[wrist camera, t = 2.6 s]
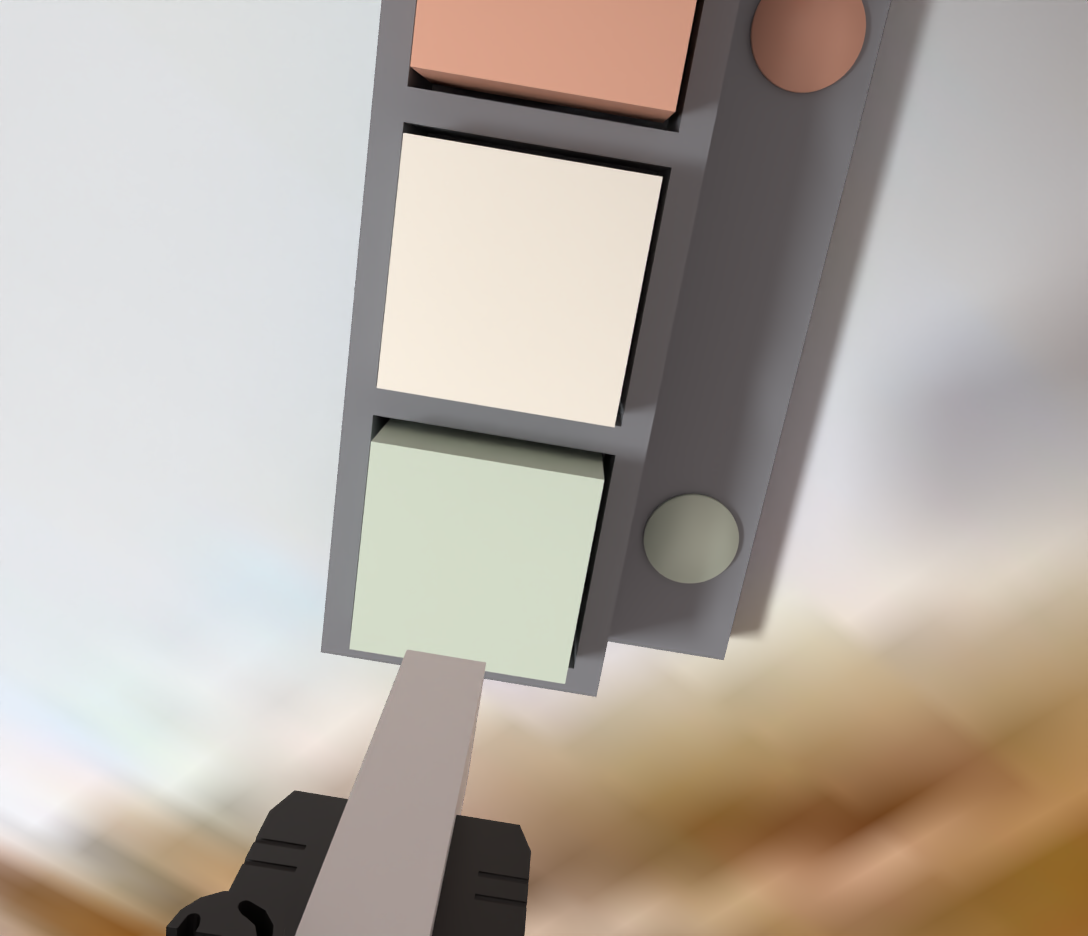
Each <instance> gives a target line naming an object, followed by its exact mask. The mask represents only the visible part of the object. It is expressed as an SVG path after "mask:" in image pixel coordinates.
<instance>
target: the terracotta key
mask: <svg viewBox="0 0 1088 936" xmlns="http://www.w3.org/2000/svg"><path fill="white" fill-rule="evenodd" d="M696 2H697V0H417V7H416V16H415V26H414V36H413V45H412V55H411V64H410V67H412V68H413V69H414V70H415V71H417V72H418V73H419V74H420V75H422V76H423V77H424V78H425V79H427V80H428V81H429V82H430V83H432V84H437V85H443V86H449V87H454V88H460V89H466V90H472V91H478V92H484V93H490V94H495V95H501V96H507V97H513V98H519V99H525V100H530V101H536V102H542V103H548V104H554V105H560V106H566V107H571V108H577V109H583V110H589V111H595V112H601V113H606V114H612V115H618V116H624V117H630V118H636V119H642V120H647V121H653V122H659V123H663V122H664V121H665V120H667V119H668V118H669V117H670V116H671V115H672V114H673V113H674V112H675V111H676V106H677V100H678V95H679V90H680V85H681V80H682V74H683V69H684V64H685V59H686V54H687V48H688V43H689V38H690V33H691V28H692V23H693V17H694V12H695V7H696Z"/></svg>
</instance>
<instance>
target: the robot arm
mask: <svg viewBox="0 0 1088 936" xmlns="http://www.w3.org/2000/svg"><path fill="white" fill-rule="evenodd" d="M485 667H486V662H480V661H474V660H468V659H462V658H456V657H450V656H444V655H438V654H432V653H426V652H420V651H414V650H406V653H405V655H404V658H403V661H402V663H401V666H400V668H399V671H398V673H397V676H396V678H395V681H394V684H393V686H392V689H391V691H390V694H389V696H388V699H387V701H386V704H385V707H384V709H383V712H382V714H381V717H380V719H379V722H378V724H377V727H376V730H375V732H374V735H373V737H372V740H371V742H370V745H369V747H368V750H367V753H366V755H365V758H364V760H363V763H362V765H361V768H360V770H359V773H358V776H357V778H356V781H355V783H354V786H353V788H352V791H351V793H350V796H349V799H343V798H337V797H331V796H325V795H319V794H313V793H307V792H301V791H293V792H292V793H291V794H290V795H289V796H287V797H286V798H285V799H284V800H282V801H281V802H280V803H279V804H278V805H276V806H275V807H274V808H273V809H272V810H270V811H269V813H268V815H267V817H266V819H265V821H264V823H263V825H262V827H261V829H260V831H259V833H258V835H257V837H256V841H255V842H254V843H253V845H252V847H251V849H250V851H249V852H248V854H247V856H246V858H245V863H244V864H242V866H241V868H240V870H239V872H238V874H237V876H236V878H235V880H234V882H233V884H232V886H231V888H230V890H229V891H222V892H219V893H215V894H212V895H208V896H205V897H201V898H199V899H198V900H196V901H194V902H193V903H191V904H189V905H188V906H186V907H185V908H183V909H181V910H180V911H179V913H178V914H177V915H176V916H175V917H174V918H173V920H172V921H171V922H170V923H169V924H168V925H167V927H166V936H524V933H525V920H526V905H527V895H528V880H529V869H530V856H531V850H530V848H529V846H528V843H527V841H526V839H525V836H524V834H523V832H522V830H521V827H520V825H516V824H510V823H504V822H498V821H492V820H486V819H479V818H473V817H467V816H461V811H462V806H463V801H464V796H465V790H466V785H467V779H468V773H469V767H470V761H471V754H472V748H473V742H474V736H475V729H476V723H477V717H478V711H479V704H480V698H481V692H482V685H483V679H484V673H485Z"/></svg>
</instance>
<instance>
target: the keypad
mask: <svg viewBox="0 0 1088 936" xmlns="http://www.w3.org/2000/svg"><path fill="white" fill-rule="evenodd" d="M890 3H891V0H697V2H696V7H695V12H694V17H693V23H692V28H691V33H690V38H689V43H688V48H687V54H686V59H685V64H684V69H683V74H682V80H681V85H680V90H679V95H678V100H677V106H676V111H675V112H674V113H673V114H672V115H671V116H670V117H669V118H668V119H667V120H665V121H664V122H663V123H659V122H653V121H647V120H642V119H636V118H630V117H624V116H618V115H612V114H606V113H601V112H595V111H589V110H583V109H577V108H571V107H566V106H560V105H554V104H548V103H542V102H536V101H530V100H525V99H519V98H513V97H507V96H501V95H495V94H490V93H484V92H478V91H472V90H466V89H460V88H454V87H449V86H443V85H437V84H432V83H430V82H429V81H428V80H427V79H425V78H424V77H423V76H422V75H420V74H419V73H418V72H417V71H415V70H414V69H413V68H412V67H410V64H411V55H412V45H413V36H414V26H415V16H416V7H417V0H382V3H381V14H380V24H379V35H378V46H377V56H376V67H375V78H374V89H373V99H372V110H371V121H370V131H369V142H368V153H367V164H366V174H365V185H364V196H363V206H362V217H361V228H360V239H359V249H358V260H357V271H356V281H355V292H354V303H353V314H352V324H351V335H350V346H349V356H348V367H347V378H346V389H345V399H344V410H343V421H342V431H341V442H340V453H339V464H338V474H337V485H336V496H335V507H334V517H333V528H332V539H331V549H330V560H329V571H328V582H327V592H326V603H325V614H324V624H323V635H322V646H321V652H323V653H329V654H335V655H341V656H347V657H354V658H360V659H366V660H372V661H378V662H385V663H391V664H397V665H401V663H402V661H403V658H401V657H395V656H389V655H383V654H377V653H370V652H364V651H358V650H352V649H349V648H350V638H351V629H352V619H353V610H354V600H355V591H356V581H357V571H358V562H359V552H360V543H361V533H362V524H363V514H364V505H365V495H366V485H367V476H368V466H369V457H370V447H371V441H372V440H373V439H374V437H375V436H376V435H377V434H378V433H379V432H380V430H381V429H382V428H383V427H384V426H385V424H386V423H387V422H388V421H389V420H390V419H391V418H395V419H401V420H407V421H413V422H419V423H425V424H431V425H437V426H443V427H449V428H455V429H461V430H467V431H473V432H479V433H485V434H491V435H497V436H503V437H509V438H515V439H521V440H527V441H534V442H540V443H546V444H552V445H558V446H564V447H570V448H576V449H582V450H588V451H594V452H600V453H602V461H603V471H604V484H603V490H602V495H601V500H600V505H599V510H598V515H597V521H596V526H595V531H594V536H593V541H592V547H591V552H590V557H589V562H588V567H587V573H586V578H585V583H584V588H583V593H582V599H581V604H580V609H579V614H578V619H577V624H576V630H575V635H574V640H573V645H572V650H571V656H570V661H569V666H568V671H567V676H566V682H565V684H562V683H556V682H550V681H543V680H537V679H531V678H525V677H519V676H512V675H506V674H500V673H494V672H488V671H485V673H484V679H490V680H496V681H502V682H508V683H514V684H521V685H527V686H533V687H539V688H545V689H551V690H558V691H564V692H570V693H576V694H582V695H589V696H595V697H596V695H597V690H598V686H599V681H600V676H601V671H602V666H603V661H604V657H605V652H606V647H607V642H608V641H610V642H616V643H622V644H628V645H634V646H641V647H647V648H653V649H659V650H665V651H671V652H677V653H684V654H690V655H696V656H702V657H708V658H714V659H720V660H724V657H725V653H726V649H727V645H728V641H729V637H730V633H731V629H732V625H733V621H734V617H735V613H736V609H737V606H738V602H739V598H740V594H741V590H742V586H743V582H744V578H745V574H746V570H747V566H748V562H749V558H750V554H751V550H752V547H753V543H754V539H755V535H756V531H757V527H758V523H759V519H760V515H761V511H762V507H763V503H764V499H765V495H766V491H767V487H768V484H769V480H770V476H771V472H772V468H773V464H774V460H775V456H776V452H777V448H778V444H779V440H780V436H781V432H782V428H783V425H784V421H785V417H786V413H787V409H788V405H789V401H790V397H791V393H792V389H793V385H794V381H795V377H796V373H797V369H798V365H799V362H800V358H801V354H802V350H803V346H804V342H805V338H806V334H807V330H808V326H809V322H810V318H811V314H812V310H813V306H814V303H815V299H816V295H817V291H818V287H819V283H820V279H821V275H822V271H823V267H824V263H825V259H826V255H827V251H828V247H829V243H830V240H831V236H832V232H833V228H834V224H835V220H836V216H837V212H838V208H839V204H840V200H841V196H842V192H843V188H844V184H845V181H846V177H847V173H848V169H849V165H850V161H851V157H852V153H853V149H854V145H855V141H856V137H857V133H858V129H859V125H860V121H861V118H862V114H863V110H864V106H865V102H866V98H867V94H868V90H869V86H870V82H871V78H872V74H873V70H874V66H875V62H876V58H877V55H878V51H879V47H880V43H881V39H882V35H883V31H884V27H885V23H886V19H887V15H888V11H889V7H890ZM403 133H408V134H414V135H420V136H425V137H431V138H437V139H443V140H449V141H455V142H461V143H467V144H472V145H478V146H484V147H490V148H496V149H502V150H508V151H514V152H519V153H525V154H531V155H537V156H543V157H549V158H555V159H561V160H566V161H572V162H578V163H584V164H590V165H596V166H602V167H608V168H613V169H619V170H625V171H631V172H637V173H643V174H649V175H655V176H661V177H663V178H662V183H661V189H660V194H659V199H658V204H657V209H656V215H655V220H654V225H653V230H652V235H651V240H650V246H649V251H648V256H647V261H646V266H645V272H644V277H643V282H642V287H641V292H640V298H639V303H638V308H637V313H636V318H635V323H634V329H633V334H632V339H631V344H630V349H629V355H628V360H627V365H626V370H625V375H624V381H623V386H622V391H621V396H620V401H619V407H618V412H617V417H616V422H615V427H609V426H603V425H597V424H591V423H585V422H579V421H573V420H567V419H561V418H555V417H549V416H543V415H537V414H531V413H525V412H519V411H513V410H507V409H501V408H495V407H489V406H483V405H477V404H471V403H465V402H459V401H453V400H447V399H440V398H434V397H428V396H422V395H416V394H410V393H404V392H398V391H392V390H386V389H380V388H377V380H378V371H379V361H380V351H381V342H382V332H383V323H384V313H385V304H386V294H387V284H388V275H389V265H390V256H391V246H392V237H393V227H394V217H395V208H396V198H397V189H398V179H399V170H400V160H401V150H402V141H403Z"/></svg>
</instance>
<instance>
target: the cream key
mask: <svg viewBox="0 0 1088 936" xmlns="http://www.w3.org/2000/svg"><path fill="white" fill-rule="evenodd" d="M662 178H663V177H661V176H655V175H649V174H643V173H637V172H631V171H625V170H619V169H613V168H608V167H602V166H596V165H590V164H584V163H578V162H572V161H566V160H561V159H555V158H549V157H543V156H537V155H531V154H525V153H519V152H514V151H508V150H502V149H496V148H490V147H484V146H478V145H472V144H467V143H461V142H455V141H449V140H443V139H437V138H431V137H425V136H420V135H414V134H408V133H403V141H402V150H401V160H400V170H399V179H398V189H397V198H396V208H395V217H394V227H393V237H392V246H391V256H390V265H389V275H388V284H387V294H386V304H385V313H384V323H383V332H382V342H381V351H380V361H379V371H378V380H377V388H380V389H386V390H392V391H398V392H404V393H410V394H416V395H422V396H428V397H434V398H440V399H447V400H453V401H459V402H465V403H471V404H477V405H483V406H489V407H495V408H501V409H507V410H513V411H519V412H525V413H531V414H537V415H543V416H549V417H555V418H561V419H567V420H573V421H579V422H585V423H591V424H597V425H603V426H609V427H615V422H616V417H617V412H618V407H619V401H620V396H621V391H622V386H623V381H624V375H625V370H626V365H627V360H628V355H629V349H630V344H631V339H632V334H633V329H634V323H635V318H636V313H637V308H638V303H639V298H640V292H641V287H642V282H643V277H644V272H645V266H646V261H647V256H648V251H649V246H650V240H651V235H652V230H653V225H654V220H655V215H656V209H657V204H658V199H659V194H660V189H661V183H662Z"/></svg>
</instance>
